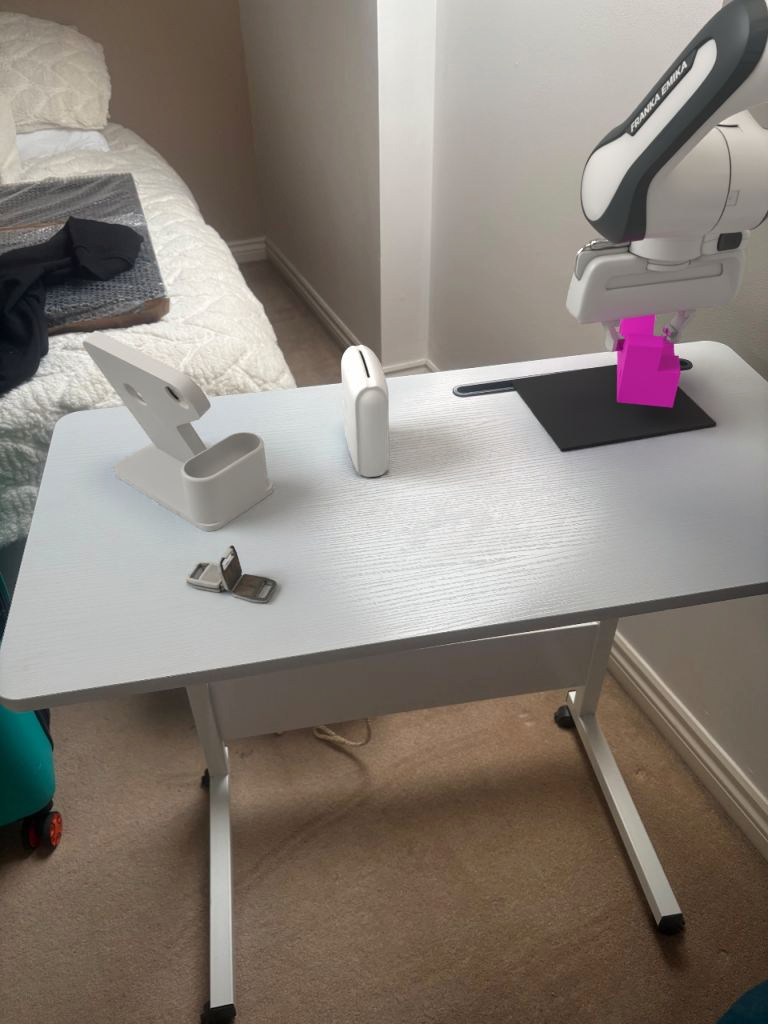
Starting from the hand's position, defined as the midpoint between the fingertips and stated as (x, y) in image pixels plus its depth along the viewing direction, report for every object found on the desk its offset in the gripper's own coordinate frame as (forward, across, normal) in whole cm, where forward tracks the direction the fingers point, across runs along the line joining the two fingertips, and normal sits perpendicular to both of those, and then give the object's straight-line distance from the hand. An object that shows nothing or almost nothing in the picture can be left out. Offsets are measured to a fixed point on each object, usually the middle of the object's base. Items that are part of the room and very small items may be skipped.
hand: (642, 345), depth 99 cm
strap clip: (+8, -52, -20) cm, 57 cm away
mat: (+8, -3, 0) cm, 8 cm away
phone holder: (+8, -54, -2) cm, 55 cm away
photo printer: (+8, -35, -2) cm, 36 cm away
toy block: (+4, +1, 0) cm, 4 cm away
